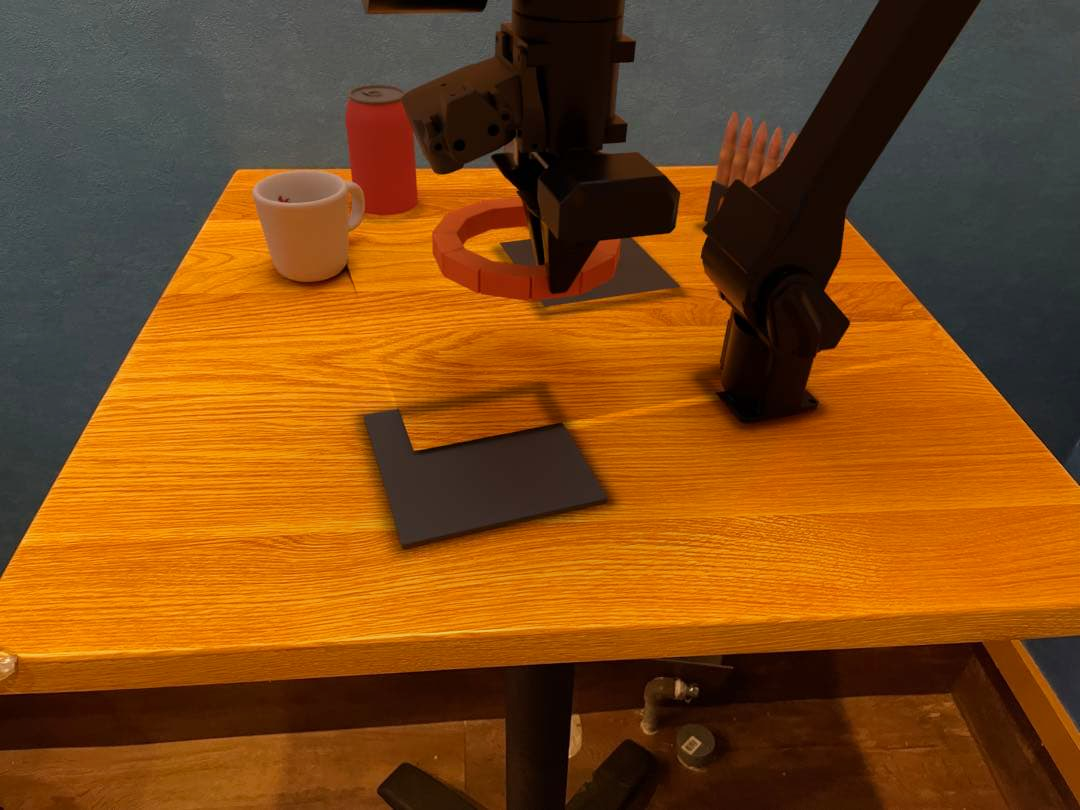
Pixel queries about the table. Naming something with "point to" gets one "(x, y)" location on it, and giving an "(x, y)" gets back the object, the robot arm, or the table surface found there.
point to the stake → (629, 277)
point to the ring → (506, 276)
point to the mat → (478, 479)
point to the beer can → (381, 149)
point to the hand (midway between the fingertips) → (552, 284)
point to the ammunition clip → (744, 159)
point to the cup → (308, 222)
